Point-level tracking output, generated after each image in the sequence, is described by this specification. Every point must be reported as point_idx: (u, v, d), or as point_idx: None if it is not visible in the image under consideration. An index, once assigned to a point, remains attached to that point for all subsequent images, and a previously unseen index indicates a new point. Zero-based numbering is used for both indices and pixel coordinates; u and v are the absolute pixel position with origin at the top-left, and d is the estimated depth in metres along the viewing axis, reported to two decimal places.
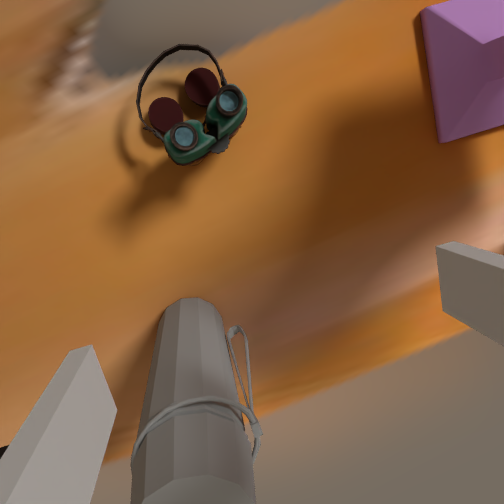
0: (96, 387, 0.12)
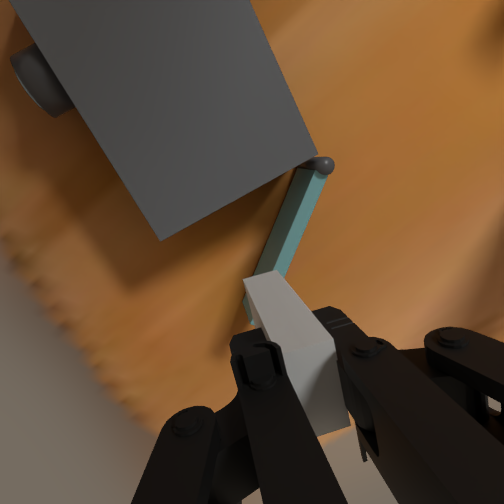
0: None
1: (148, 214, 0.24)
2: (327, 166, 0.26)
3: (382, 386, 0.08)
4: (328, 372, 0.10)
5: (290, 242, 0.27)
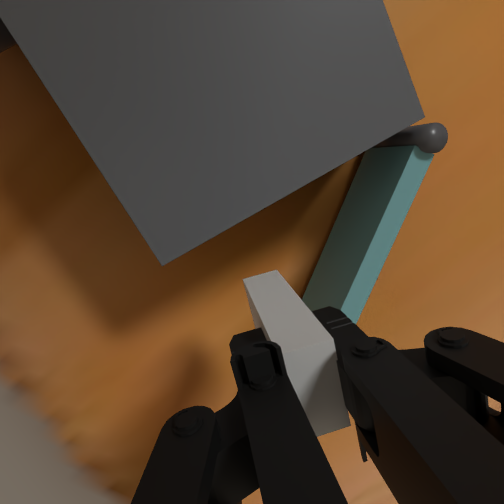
0: None
1: (141, 220, 0.14)
2: (436, 139, 0.16)
3: (382, 386, 0.08)
4: (328, 372, 0.10)
5: (370, 263, 0.17)
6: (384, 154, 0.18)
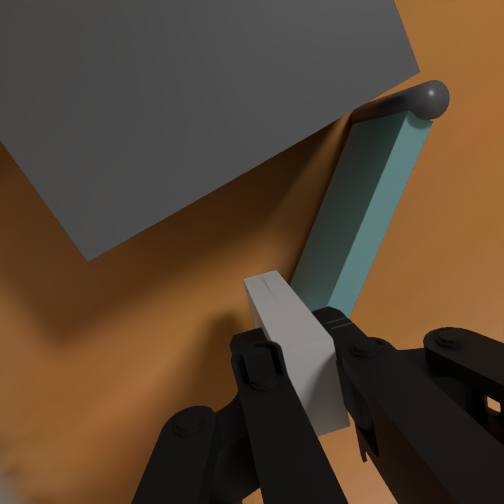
0: None
1: (57, 204, 0.11)
2: (435, 101, 0.12)
3: (381, 386, 0.08)
4: (327, 372, 0.10)
5: (357, 258, 0.14)
6: (372, 127, 0.15)
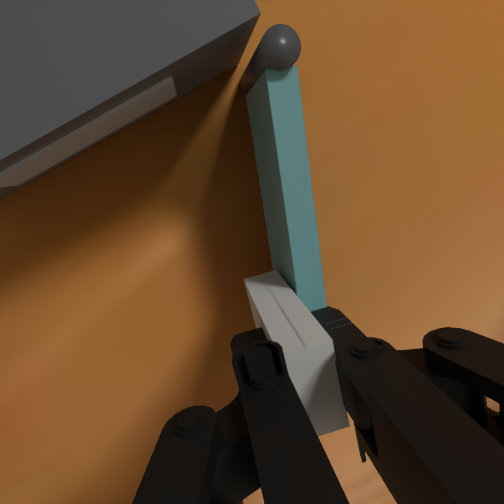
0: None
1: None
2: (284, 46, 0.11)
3: (381, 386, 0.08)
4: (327, 373, 0.10)
5: (300, 234, 0.13)
6: (255, 95, 0.14)
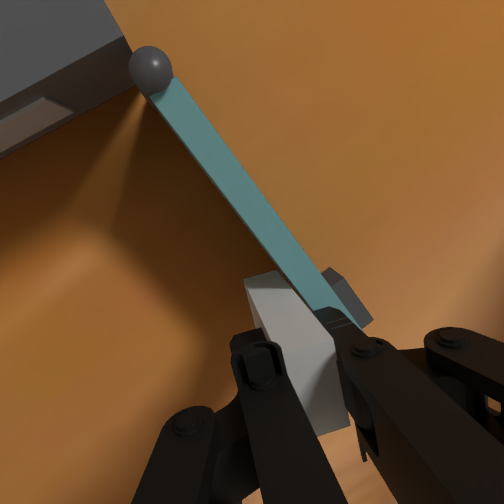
0: None
1: None
2: (153, 67, 0.11)
3: (382, 386, 0.08)
4: (328, 372, 0.10)
5: (263, 226, 0.13)
6: (163, 116, 0.13)
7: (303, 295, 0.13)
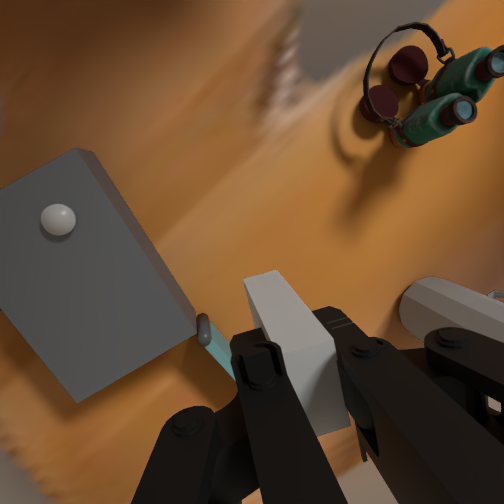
0: None
1: (66, 385, 0.32)
2: (205, 339, 0.34)
3: (382, 386, 0.08)
4: (328, 372, 0.10)
5: None
6: None
7: None
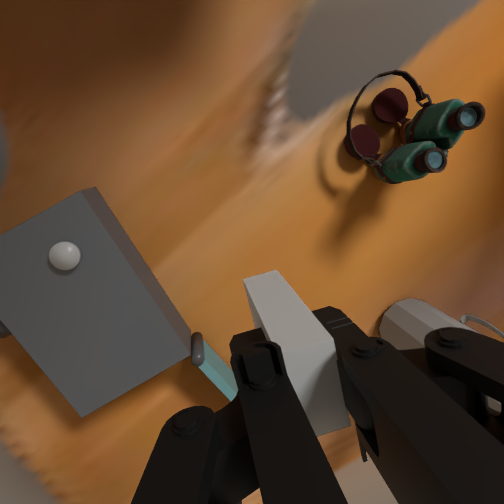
0: None
1: (72, 401, 0.36)
2: (198, 360, 0.37)
3: (382, 386, 0.08)
4: (328, 372, 0.10)
5: (232, 397, 0.39)
6: None
7: None
